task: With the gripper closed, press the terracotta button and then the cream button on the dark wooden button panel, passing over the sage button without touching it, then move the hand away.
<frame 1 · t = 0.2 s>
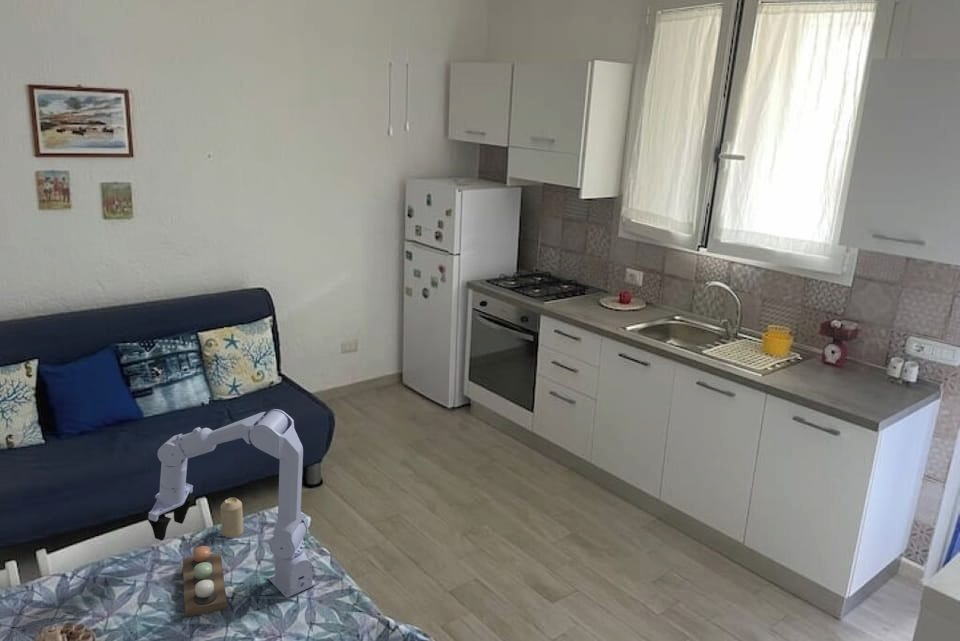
hand: (169, 530, 177), 10 cm above the table, tool pointing down, fingers open, 7 cm apart
button sage: (203, 570, 172), point 4 cm above the table, slide at 0.0 cm
button cream: (204, 588, 166), point 4 cm above the table, slide at 0.0 cm
candle: (232, 533, 195), on the table
button panel: (204, 586, 174), on the table
button terracotta: (201, 553, 178), point 4 cm above the table, slide at 0.0 cm
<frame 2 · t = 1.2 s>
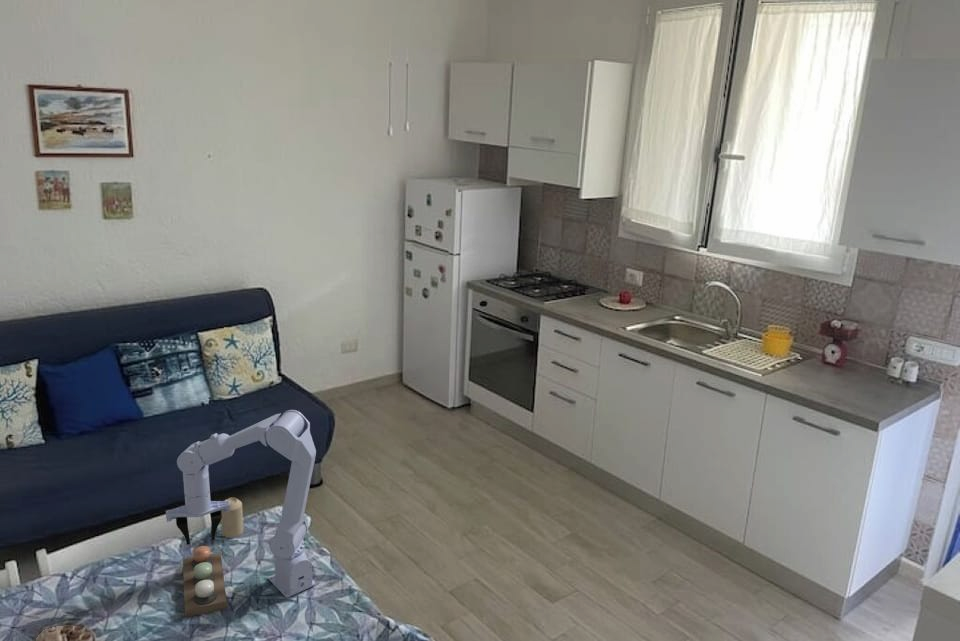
hand: (200, 540, 177), 8 cm above the table, tool pointing down, fingers open, 5 cm apart
nothing on the table moved.
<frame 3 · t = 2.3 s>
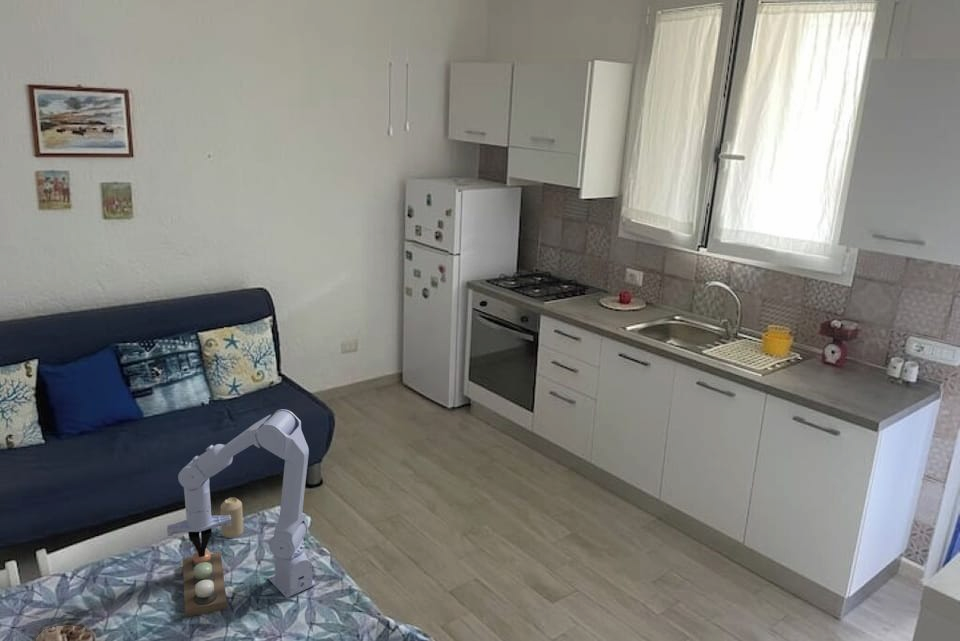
hand: (201, 554, 178), 4 cm above the table, tool pointing down, fingers closed, pressing on button terracotta
button terracotta: (202, 557, 179), point 3 cm above the table, slide at 1.0 cm, touching gripper
everything else where it was.
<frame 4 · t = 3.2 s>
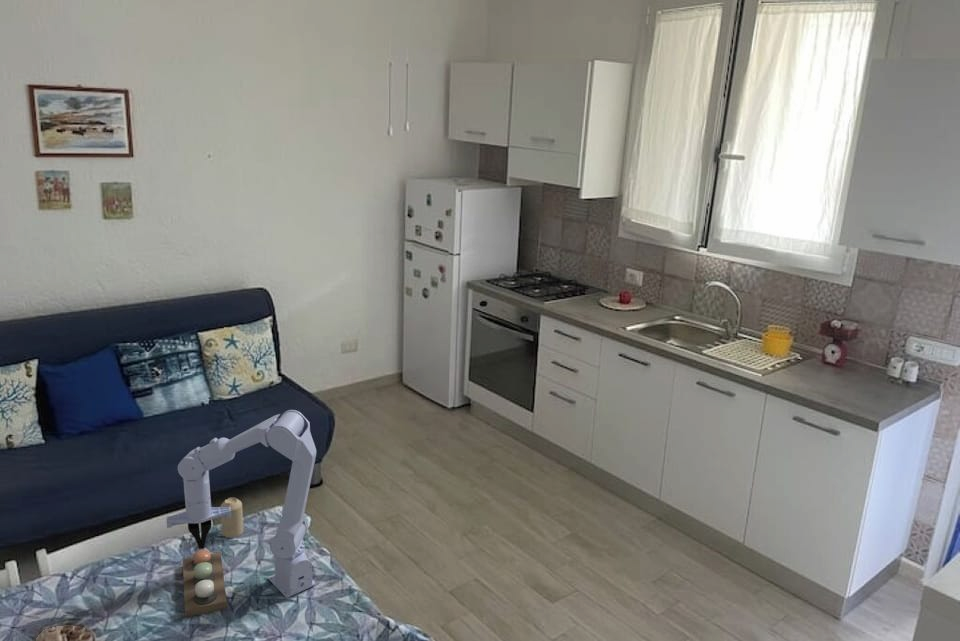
hand: (201, 546, 177), 7 cm above the table, tool pointing down, fingers closed
button terracotta: (202, 557, 179), point 3 cm above the table, slide at 1.0 cm
everything else where it was.
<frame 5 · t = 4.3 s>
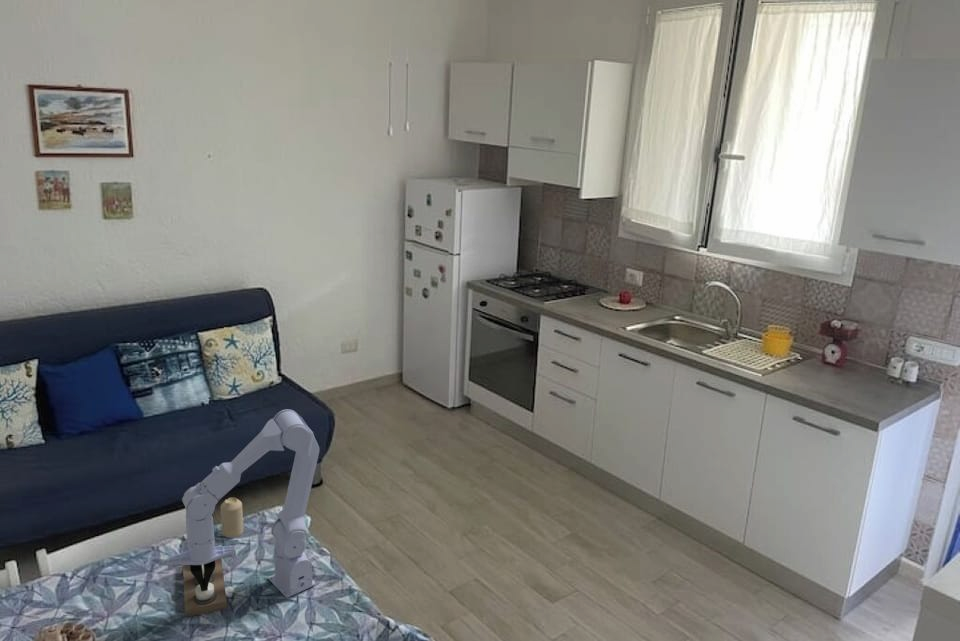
hand: (204, 588, 166), 5 cm above the table, tool pointing down, fingers closed, pressing on button cream
button cream: (204, 591, 166), point 4 cm above the table, slide at 0.8 cm, touching gripper
everything else where it was.
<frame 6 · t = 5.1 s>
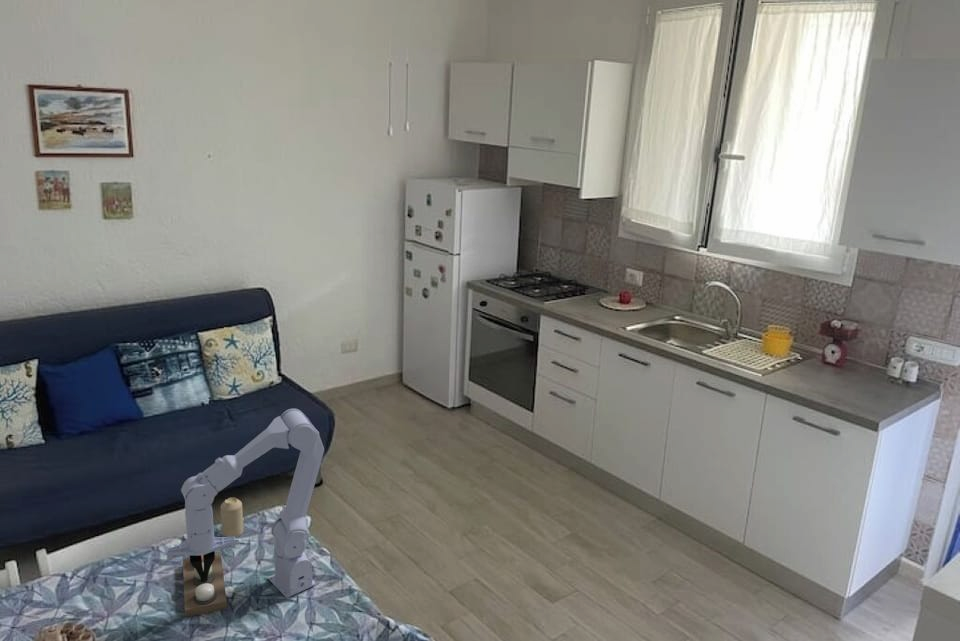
hand: (204, 578, 165), 7 cm above the table, tool pointing down, fingers closed
button cream: (204, 592, 166), point 3 cm above the table, slide at 1.0 cm
everything else where it was.
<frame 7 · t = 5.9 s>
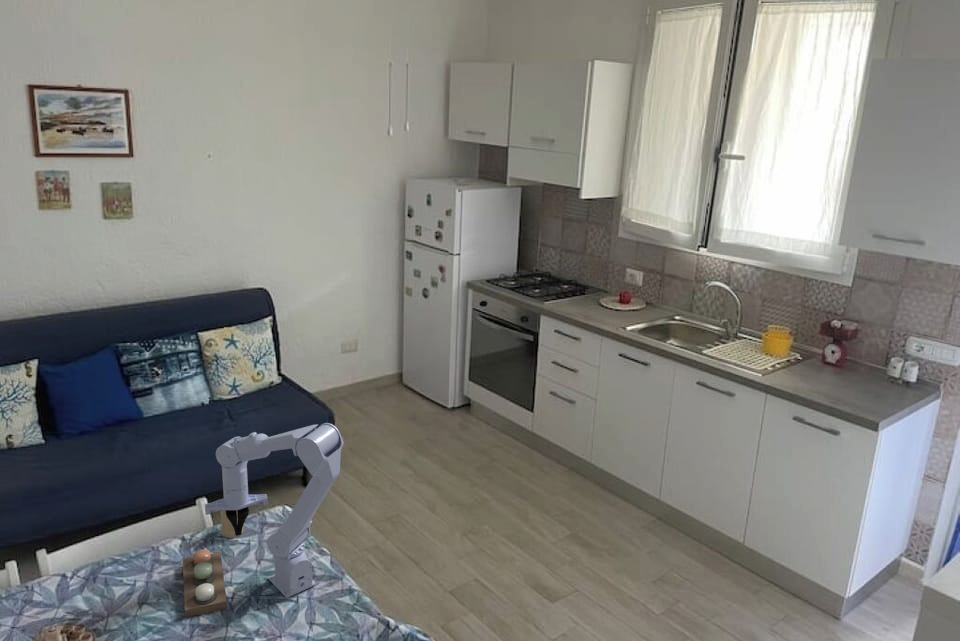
hand: (238, 533, 179), 9 cm above the table, tool pointing down, fingers closed
nothing on the table moved.
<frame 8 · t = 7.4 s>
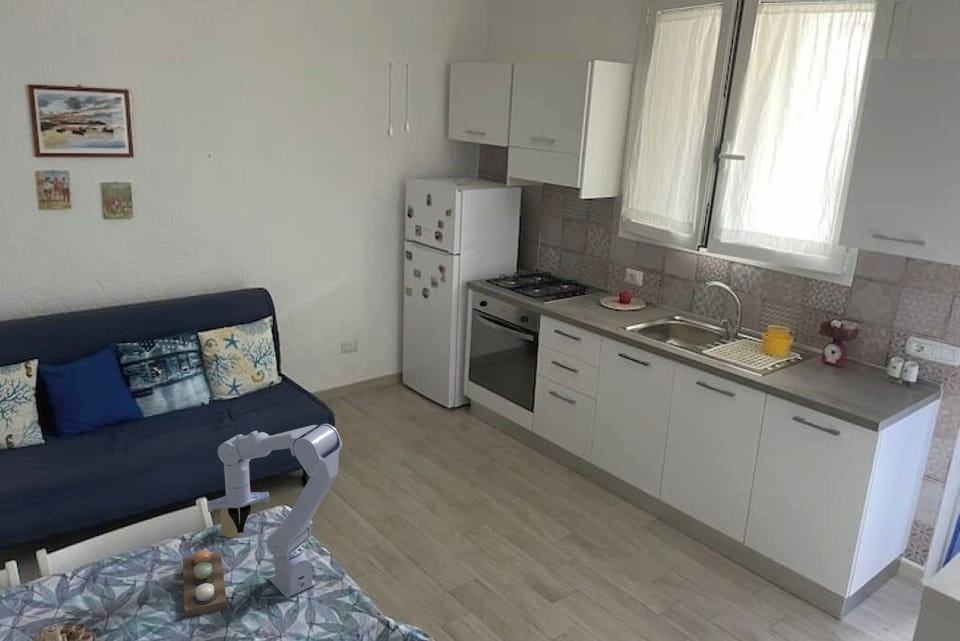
hand: (240, 530, 180), 9 cm above the table, tool pointing down, fingers closed
nothing on the table moved.
at the end: button terracotta slide at 1.0 cm; button cream slide at 1.0 cm; button sage slide at 0.0 cm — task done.
